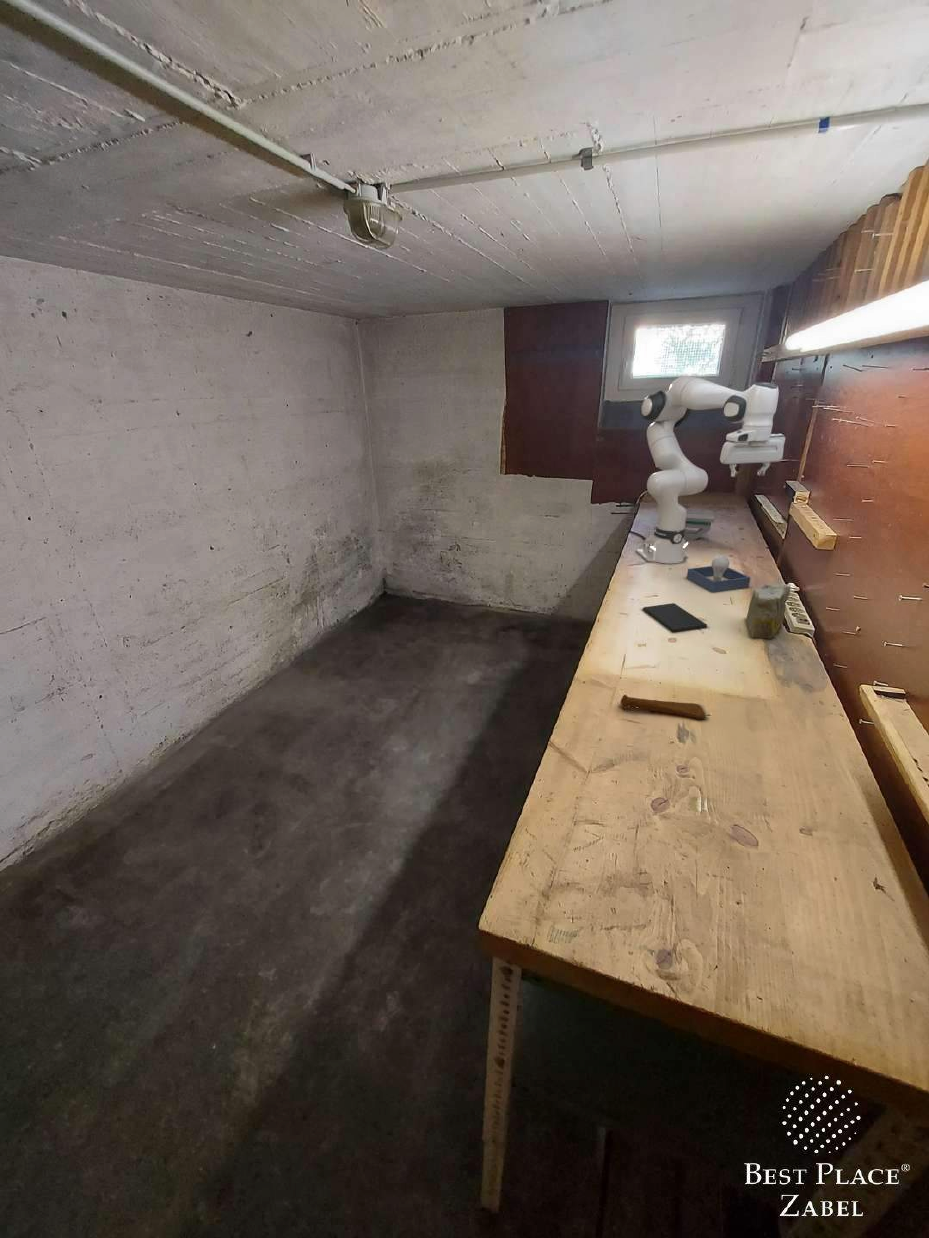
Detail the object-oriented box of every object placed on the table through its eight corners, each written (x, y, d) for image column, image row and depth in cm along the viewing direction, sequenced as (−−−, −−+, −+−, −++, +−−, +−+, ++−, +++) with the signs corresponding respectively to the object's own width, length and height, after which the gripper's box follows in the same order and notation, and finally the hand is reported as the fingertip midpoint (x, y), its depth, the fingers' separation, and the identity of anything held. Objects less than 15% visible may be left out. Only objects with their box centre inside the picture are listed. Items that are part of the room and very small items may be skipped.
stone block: (749, 638, 149) (760, 593, 142) (745, 618, 161) (755, 576, 154) (787, 643, 145) (800, 597, 138) (781, 622, 157) (792, 579, 150)
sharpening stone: (711, 537, 242) (715, 515, 238) (710, 541, 236) (714, 519, 231) (658, 532, 253) (661, 511, 249) (656, 536, 247) (659, 515, 242)
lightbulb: (727, 585, 186) (732, 558, 181) (710, 585, 187) (715, 558, 182) (722, 580, 191) (728, 553, 187) (706, 579, 193) (711, 553, 188)
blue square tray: (686, 578, 195) (688, 568, 193) (720, 573, 198) (722, 564, 196) (712, 592, 181) (714, 582, 179) (748, 587, 184) (750, 577, 182)
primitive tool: (699, 706, 119) (701, 694, 118) (706, 720, 114) (708, 708, 113) (619, 702, 122) (620, 691, 120) (622, 716, 117) (624, 704, 116)
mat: (642, 609, 170) (643, 607, 170) (673, 605, 172) (673, 603, 172) (673, 632, 154) (673, 629, 154) (706, 627, 156) (706, 624, 156)
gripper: (781, 432, 168) (771, 473, 174) (721, 435, 169) (714, 475, 175) (791, 434, 163) (782, 476, 169) (730, 437, 163) (722, 478, 169)
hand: (747, 476), depth 172 cm, fingers open, 8 cm apart
